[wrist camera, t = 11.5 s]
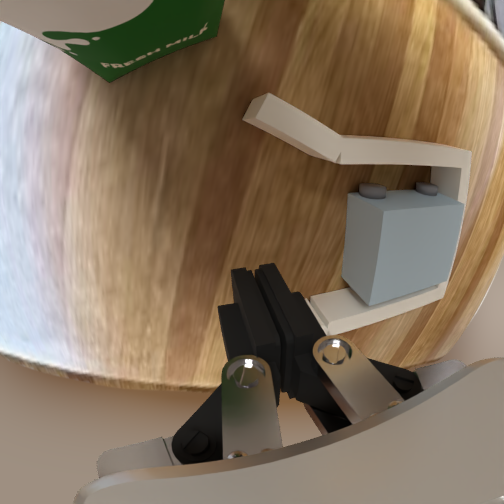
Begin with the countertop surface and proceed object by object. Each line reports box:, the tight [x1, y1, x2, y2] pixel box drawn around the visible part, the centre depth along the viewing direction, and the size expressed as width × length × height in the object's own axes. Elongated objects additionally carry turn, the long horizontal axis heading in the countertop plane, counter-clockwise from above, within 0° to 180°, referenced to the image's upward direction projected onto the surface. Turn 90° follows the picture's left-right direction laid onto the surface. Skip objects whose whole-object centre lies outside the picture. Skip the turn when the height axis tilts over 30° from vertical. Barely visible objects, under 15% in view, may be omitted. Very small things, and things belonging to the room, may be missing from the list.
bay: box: [242, 93, 472, 336], centre depth 19 cm, size 19×18×4 cm
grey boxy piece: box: [341, 182, 464, 306], centre depth 20 cm, size 8×9×4 cm
